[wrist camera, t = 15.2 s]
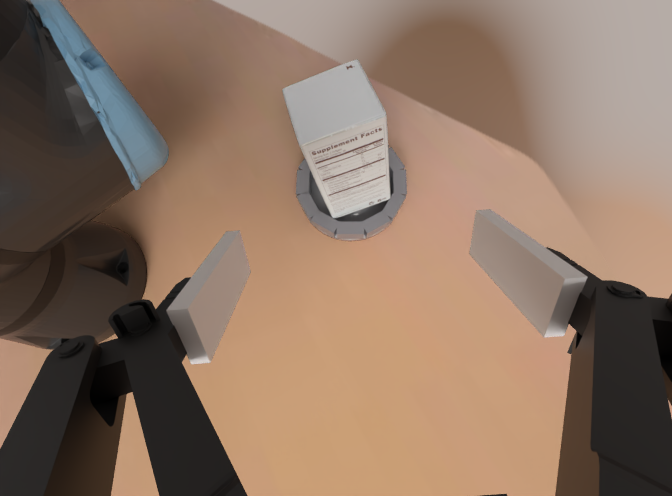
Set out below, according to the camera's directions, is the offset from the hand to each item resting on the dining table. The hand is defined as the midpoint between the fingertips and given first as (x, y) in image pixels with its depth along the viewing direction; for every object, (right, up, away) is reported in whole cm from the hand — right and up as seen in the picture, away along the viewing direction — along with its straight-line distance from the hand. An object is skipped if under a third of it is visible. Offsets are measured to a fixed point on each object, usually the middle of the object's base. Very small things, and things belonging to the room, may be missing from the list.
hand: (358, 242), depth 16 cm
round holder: (+1, +7, +20) cm, 22 cm away
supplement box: (+1, +7, +19) cm, 20 cm away
